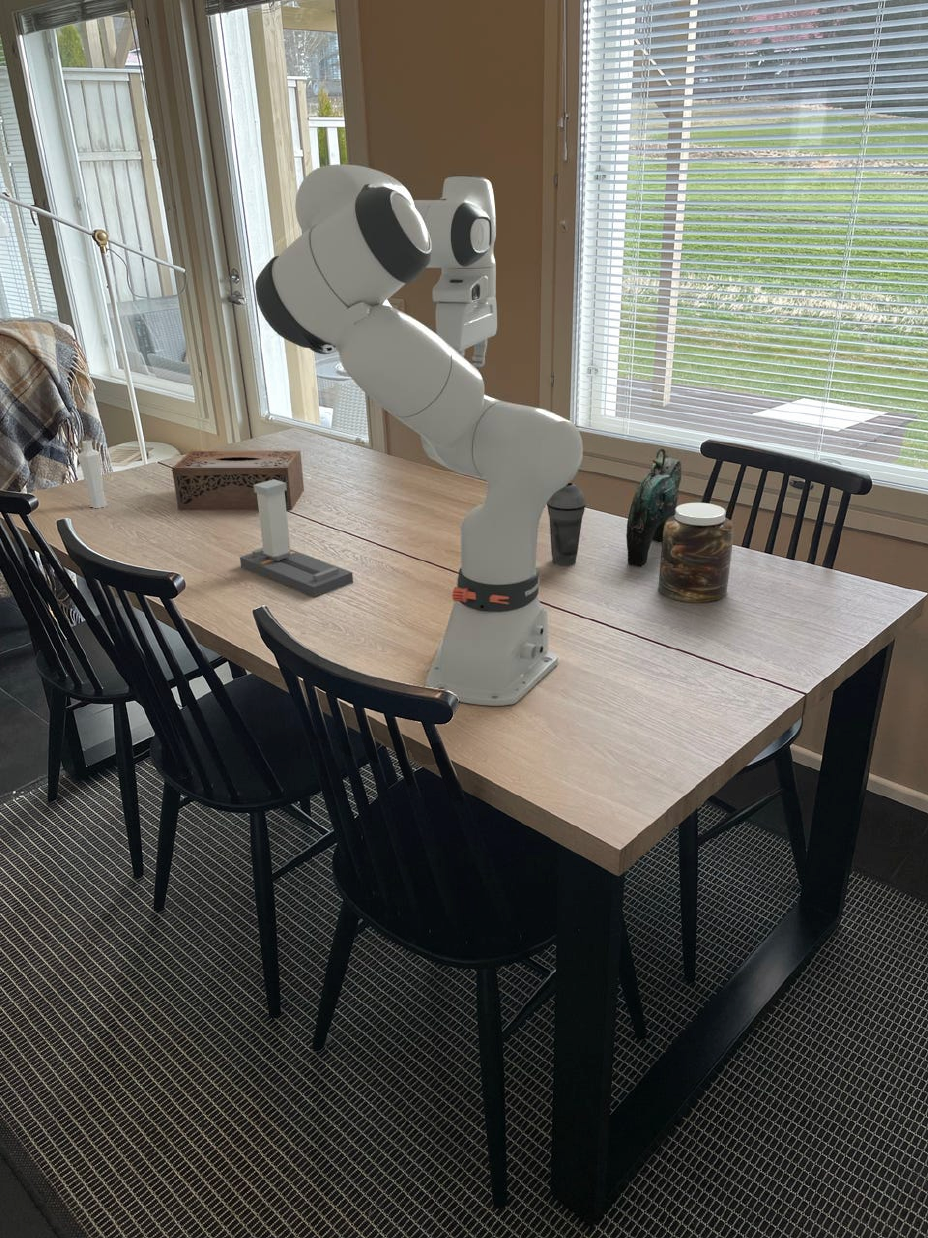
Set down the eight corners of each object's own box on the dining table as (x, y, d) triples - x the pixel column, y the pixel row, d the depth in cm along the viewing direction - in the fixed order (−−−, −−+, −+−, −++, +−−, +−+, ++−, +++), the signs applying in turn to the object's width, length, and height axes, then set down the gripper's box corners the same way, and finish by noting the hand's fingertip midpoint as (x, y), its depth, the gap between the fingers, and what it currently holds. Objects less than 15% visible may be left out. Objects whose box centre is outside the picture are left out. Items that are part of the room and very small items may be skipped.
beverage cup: (581, 570, 174) (586, 466, 166) (542, 567, 176) (545, 464, 167) (584, 555, 181) (589, 455, 172) (547, 553, 182) (550, 453, 174)
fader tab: (293, 555, 176) (286, 483, 170) (274, 562, 173) (266, 488, 167) (280, 550, 179) (273, 478, 173) (261, 557, 176) (252, 484, 170)
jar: (675, 572, 173) (682, 495, 166) (736, 586, 167) (745, 506, 160) (647, 593, 164) (654, 513, 158) (710, 609, 158) (720, 525, 152)
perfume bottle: (114, 504, 213) (102, 440, 206) (98, 510, 210) (85, 444, 203) (101, 501, 215) (89, 437, 209) (85, 506, 212) (72, 442, 205)
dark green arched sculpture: (653, 533, 192) (661, 437, 184) (683, 538, 189) (693, 441, 181) (617, 564, 177) (624, 462, 168) (650, 570, 174) (658, 466, 165)
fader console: (353, 582, 170) (351, 567, 169) (314, 597, 164) (313, 581, 163) (278, 553, 184) (277, 539, 182) (241, 566, 178) (239, 552, 176)
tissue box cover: (178, 511, 209) (171, 467, 205) (197, 491, 222) (191, 450, 218) (291, 511, 208) (287, 467, 204) (304, 491, 221) (300, 450, 217)
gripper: (471, 278, 162) (472, 359, 168) (428, 291, 144) (430, 381, 150) (506, 279, 160) (505, 361, 166) (466, 292, 142) (466, 383, 148)
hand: (469, 371), depth 158 cm, fingers open, 8 cm apart
